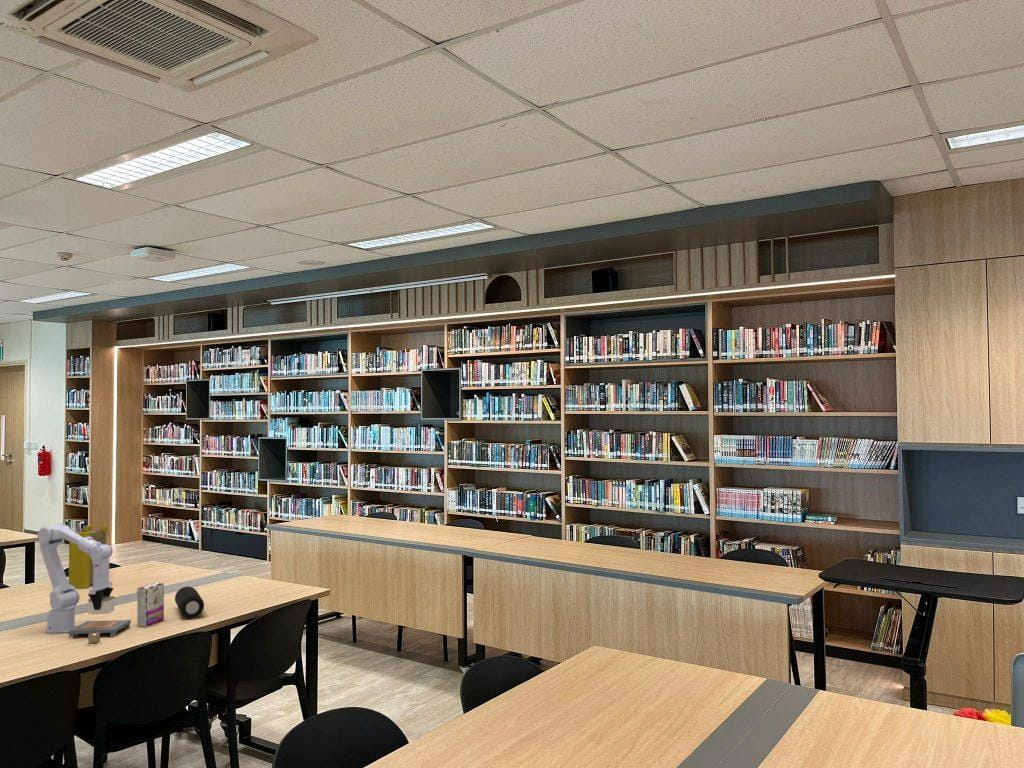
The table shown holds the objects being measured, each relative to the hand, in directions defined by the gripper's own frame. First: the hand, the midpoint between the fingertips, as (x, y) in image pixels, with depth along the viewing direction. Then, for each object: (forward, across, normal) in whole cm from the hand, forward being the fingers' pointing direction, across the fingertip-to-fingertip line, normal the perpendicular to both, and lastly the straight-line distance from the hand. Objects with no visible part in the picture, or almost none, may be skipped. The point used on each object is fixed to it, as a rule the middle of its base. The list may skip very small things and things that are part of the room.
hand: (100, 607), depth 302 cm
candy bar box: (+10, +12, -15) cm, 22 cm away
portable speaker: (+10, +28, -25) cm, 39 cm away
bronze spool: (+10, -15, -5) cm, 19 cm away
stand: (+10, 0, 0) cm, 10 cm away
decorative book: (+10, +93, +52) cm, 107 cm away
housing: (+2, 0, 0) cm, 2 cm away
